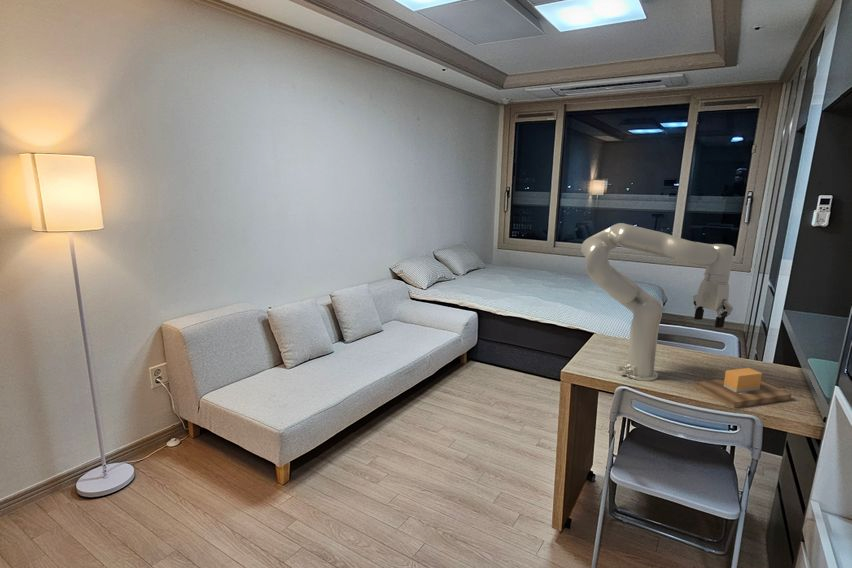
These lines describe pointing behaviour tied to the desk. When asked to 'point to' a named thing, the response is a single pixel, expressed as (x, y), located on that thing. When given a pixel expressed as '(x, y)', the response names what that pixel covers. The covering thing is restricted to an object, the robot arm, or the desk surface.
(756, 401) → the walnut board
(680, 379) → the desk surface
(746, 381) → the block
